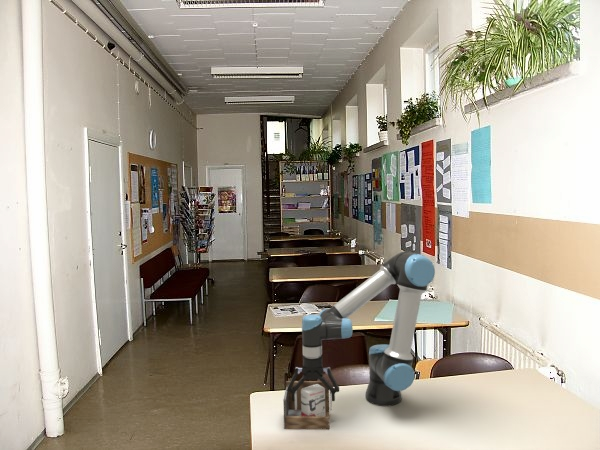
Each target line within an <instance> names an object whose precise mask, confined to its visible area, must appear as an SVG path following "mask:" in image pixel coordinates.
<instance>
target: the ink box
mask: <svg viewBox="0 0 600 450" xmlns="http://www.w3.org/2000/svg"><path fill="white" fill-rule="evenodd" d="M301 413H302V416H316V417H325V388H324V387H322V386H320V385H319V384H315V385H312V386H308V387H305V388H302V389H301Z"/></svg>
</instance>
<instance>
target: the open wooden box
mask: <svg viewBox="0 0 600 450" xmlns="http://www.w3.org/2000/svg"><path fill="white" fill-rule="evenodd" d="M290 381H291V380H286V381H285V383H286V387H285V391H284V395H283V429H284V430H329V429H330V390H329V389H328V388H327V387H326V386H325V385H324V384H323V383H322V381H320V380H314V381H313V380H309V381H308V380H305V381H304V382H303V383H302V384H301V386H300V387H299V388H298V389H297V390H296V391H297V410H295V401H292V393H291V392H288V391H287V388H288V385H289V383H290ZM298 381H299V380H295V382H294V384H293V386H292V388H293V387H294V386H295V385H296V384H297V383H298ZM327 381H328V382H329V383H330V381H329V380H327ZM315 384H319V385H320V386H322V387H324V388H325V417H316V416H302V413H301V389H302V388H305V387H308V386H312V385H315Z"/></svg>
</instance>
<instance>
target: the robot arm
mask: <svg viewBox="0 0 600 450" xmlns="http://www.w3.org/2000/svg"><path fill="white" fill-rule="evenodd" d="M433 263H434V262H432V261H431V259H430V258H428V257H427V256H425V255H423V254H419V253H416V252H413V251H409V250H408V251H407V250H406V251H402V252H399V253H397V254H395V255H393V256H392V257H391V258H389V259H387V261H385V262H384V263H383V264H382V265H380V266H379V270H378V271H376V272H375V273H374V274H373V275H371V276H370V277H368V278H367V279H366V280H365V281H364V282H362V283H360V285H358V286H357V287H356V288H354V289H353V290H351V291H350V292H349V293H348V294H346V295H345V296H344V297H343V298H341V299H340V300H339V301H338V302H336V303H335V304H334V305H332V306H331V307H330V308H326V309H325V308H324V309H322V310H321V311H319V314H307V315H304V316H303V317H302V322H301V336H302V340H301V341H302V367H298V366H295V368H294V374H293V375H292V377H291V379H290V380H289V381H290V383H289V385H288V388H287V391H288V392H291V393H292V401H295V410H297V391H296V390H297V389H298V388H299V387H300V386H301V384H302V383H303V382H304V381H307V380H309V381H313V380H314V381H322V383H323V384H324V385H325V386H326V387H327V388H328V389H329V411H333V402H335V400H336V393H339V392H340V386H339V384H338V382H337V380H336V379H335V377H334V375H333V373H332V371H331V367H330V366H327V367H323V356H322V355H323V341H324V340H325V341H326V340H340V339H342V340H343V339H349V338H351V337H352V336H353V331H354V330H353V323H352V319H350V318H349V317H351V316H352V315H353V314H355V313H356V312H357V311H358V310H359V309H361V308H362V307H364V306H365V305H366V304H367V303H368V302H369V301H371V300H373V299H374V298H375V297H376V296H379V294H381V292H383V291H384V290H385V289H387V288H388V287H389V286H391V285H397V286H398V288H399V293H398V299H397V302H396V303H397V304H396V309H395V314H394V319H393V325H392V329H391V335H390V339H389V344H387V343H386V344H375V345H372V346H370V347H369V349H368V351H369V352H368V358H369V360H368V361H369V362H368V363H369V382H368V383H367V388H366V391H365V399H366V401H367V402H369V404H372V405H375V406H382V407H383V406H385V407H387V406H388V407H389V406H394V405H398V404H400V403H401V402H402V391H404V390H407V389H408V388H410V387H411V386H412V385H413V383H414V381H415V378H416V377H415V376H416V375H415V371H414V369H413V367H412V366H413V361H414V356H413V355H412V353H411V352H412V351H411V350H412V345H413V341H414V336H415V330H416V325H417V319H418V316H419V315H418V314H419V310H420V305H421V301H422V296H423V294H424V293H426V292H427V291H428V290H427V289H428V285H430V284H431V283H432V281H433V280H434V277H435V274H436V270H435V265H434V264H433ZM324 372H325V374H326V375H327V376H328V378H329V380H330V381H329V380H327V378H325V376H324V375H323V373H324ZM300 373H302V374H303V375H302V377H301V378H300V379H299V380H297V381H298V383H297V384H296V385H295V386H294V387H293V388H292V386H293V384H294V382H295V381H296V379H297V377H298V375H300ZM328 381H329V382H328ZM330 382H331V383H330Z"/></svg>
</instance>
